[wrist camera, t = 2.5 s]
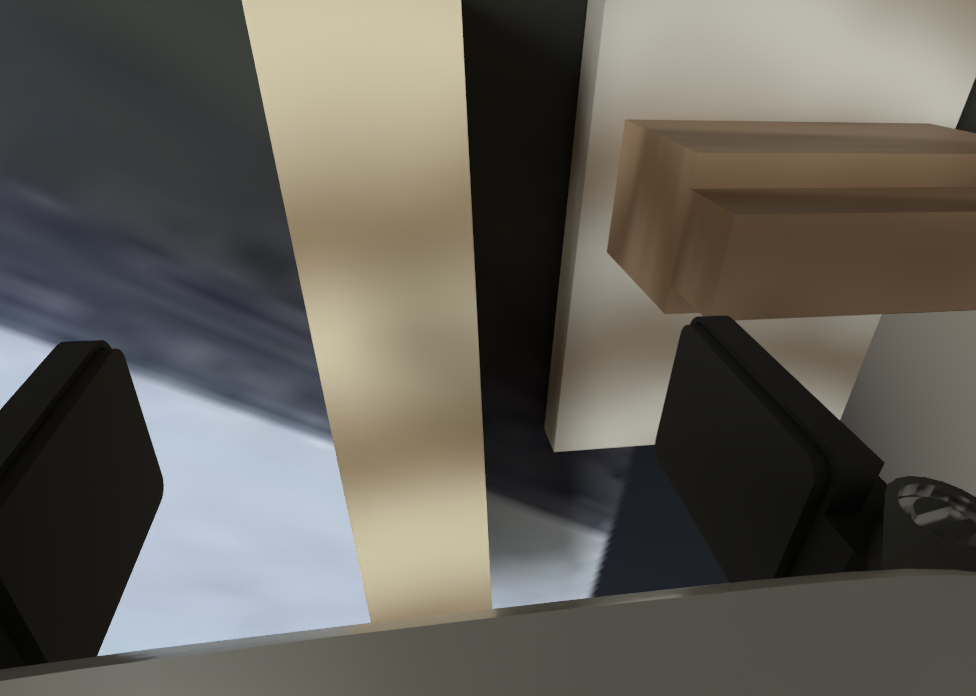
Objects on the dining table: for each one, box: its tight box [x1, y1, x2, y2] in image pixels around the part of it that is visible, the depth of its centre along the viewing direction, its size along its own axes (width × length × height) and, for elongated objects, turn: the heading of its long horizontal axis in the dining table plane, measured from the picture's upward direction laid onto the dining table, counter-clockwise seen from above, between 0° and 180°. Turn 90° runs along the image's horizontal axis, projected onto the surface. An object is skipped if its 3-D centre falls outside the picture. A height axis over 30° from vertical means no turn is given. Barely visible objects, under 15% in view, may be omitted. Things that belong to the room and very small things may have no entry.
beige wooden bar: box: [242, 0, 492, 623], centre depth 19 cm, size 22×4×6 cm, turn 2°
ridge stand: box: [544, 0, 976, 452], centre depth 17 cm, size 20×12×8 cm, turn 178°
